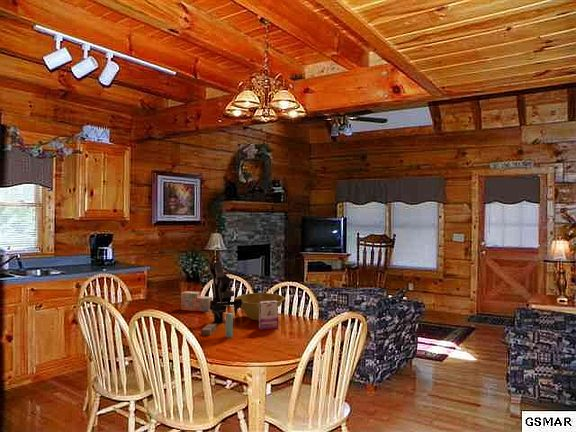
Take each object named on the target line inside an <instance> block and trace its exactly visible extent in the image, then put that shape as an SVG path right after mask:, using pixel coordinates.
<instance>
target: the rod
mask: <svg viewBox="0 0 576 432" xmlns="http://www.w3.org/2000/svg"><path fill="white" fill-rule="evenodd" d="M233 317H234V314H233V313H232V312H227V313H226V312H225V338H228V339H229V338H233V336H234V334H233V332H234V330H233V328H234V321H233V320H234V318H233Z"/></svg>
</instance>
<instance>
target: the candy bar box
mask: <svg viewBox="0 0 576 432" xmlns="http://www.w3.org/2000/svg"><path fill="white" fill-rule="evenodd" d="M258 328H259V330H261V331H264V330H265V331H266V330H276V329H279V307H278V302H277V301H276V300H275V301H260V302H259V320H258Z"/></svg>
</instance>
